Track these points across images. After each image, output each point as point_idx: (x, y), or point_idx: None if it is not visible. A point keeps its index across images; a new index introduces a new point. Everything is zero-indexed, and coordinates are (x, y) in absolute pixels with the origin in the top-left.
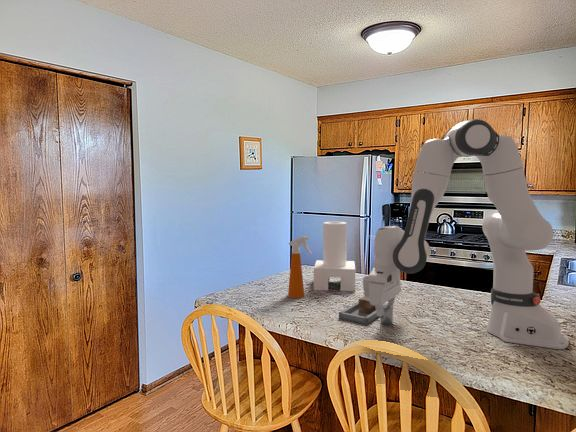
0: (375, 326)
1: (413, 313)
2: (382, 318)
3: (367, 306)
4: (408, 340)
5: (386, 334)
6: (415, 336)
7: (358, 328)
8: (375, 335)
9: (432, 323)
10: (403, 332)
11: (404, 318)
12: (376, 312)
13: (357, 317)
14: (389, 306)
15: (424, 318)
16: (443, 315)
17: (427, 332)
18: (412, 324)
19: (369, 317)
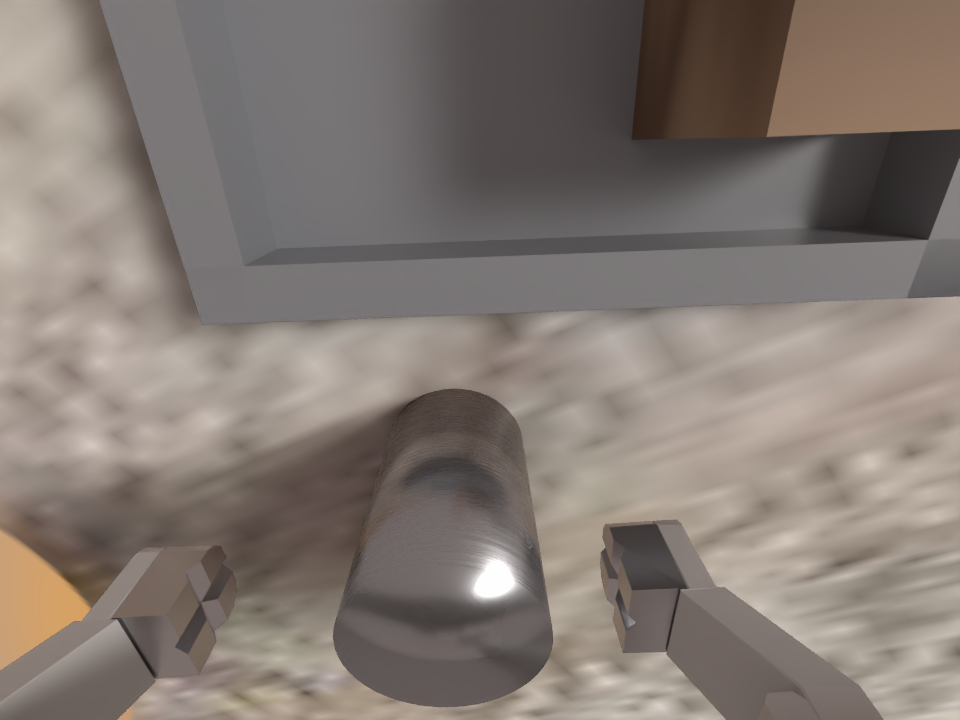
0: (287, 391)
1: (932, 529)
2: (378, 476)
3: (697, 66)
4: (227, 678)
5: (188, 545)
6: (338, 686)
7: (51, 259)
8: (74, 489)
9: (693, 690)
10: None
11: (724, 517)
12: (572, 310)
13: (153, 128)
14: (490, 663)
15: (800, 628)
16: (939, 694)
17: (474, 711)
18: (585, 609)
19: (291, 318)
